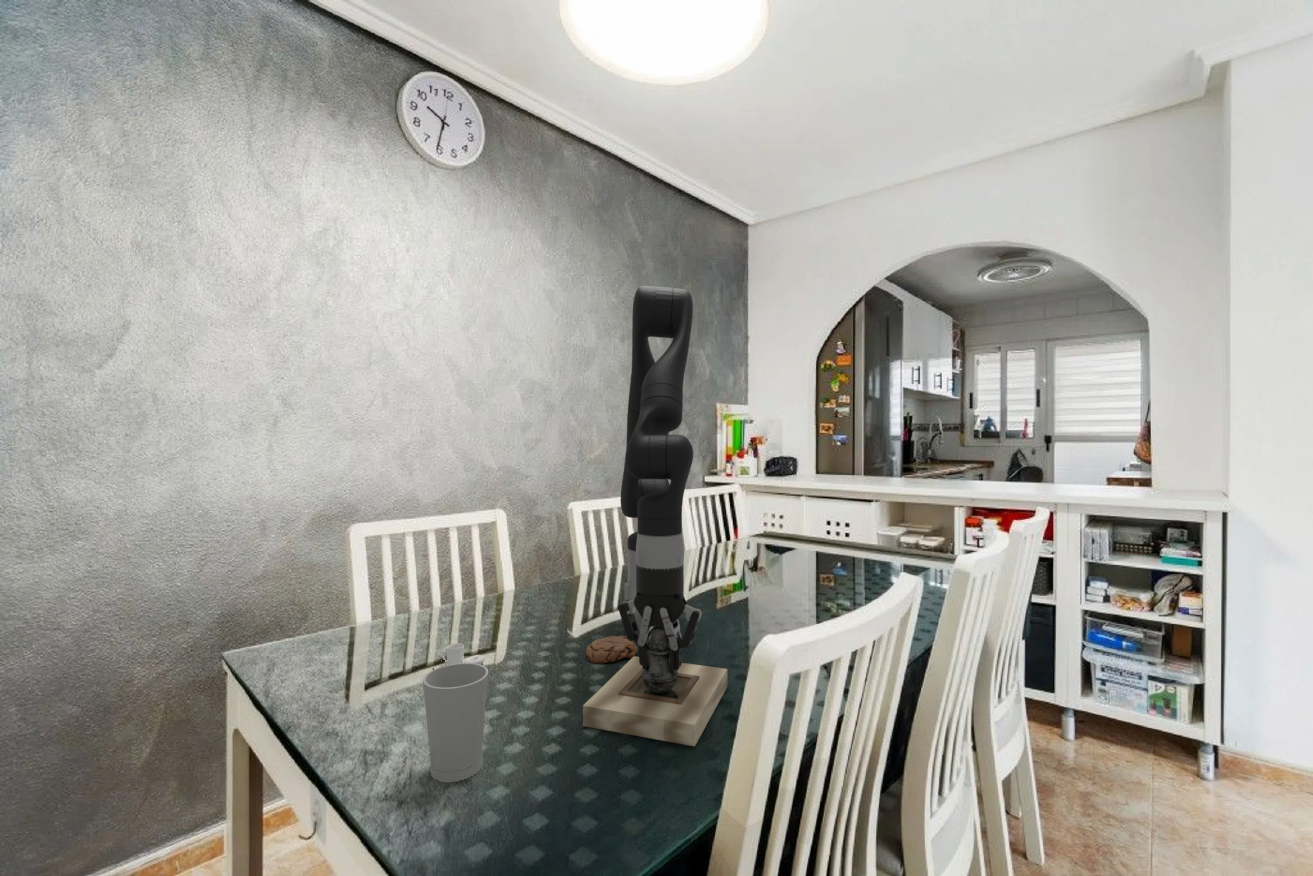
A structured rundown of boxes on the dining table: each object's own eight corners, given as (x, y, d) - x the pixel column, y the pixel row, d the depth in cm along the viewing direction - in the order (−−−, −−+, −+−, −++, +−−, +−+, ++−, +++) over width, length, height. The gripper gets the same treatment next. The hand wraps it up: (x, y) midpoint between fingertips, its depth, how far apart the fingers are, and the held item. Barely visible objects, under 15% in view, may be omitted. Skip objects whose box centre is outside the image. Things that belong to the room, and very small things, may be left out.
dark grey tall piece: (675, 706, 90) (674, 627, 89) (637, 702, 91) (637, 625, 91) (681, 689, 95) (681, 615, 95) (645, 686, 97) (645, 613, 96)
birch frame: (583, 726, 86) (583, 703, 86) (633, 673, 105) (633, 654, 105) (694, 746, 81) (694, 722, 81) (727, 686, 99) (727, 667, 99)
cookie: (574, 661, 112) (574, 645, 112) (603, 642, 121) (603, 628, 121) (620, 670, 107) (620, 653, 107) (646, 650, 117) (646, 635, 117)
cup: (434, 752, 79) (433, 663, 79) (494, 749, 80) (493, 661, 80) (414, 788, 71) (413, 689, 71) (481, 784, 72) (481, 687, 72)
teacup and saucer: (490, 664, 111) (490, 642, 110) (460, 680, 103) (459, 657, 103) (455, 656, 114) (455, 636, 114) (423, 672, 107) (422, 649, 107)
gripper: (709, 559, 94) (709, 666, 94) (627, 553, 99) (627, 655, 99) (696, 570, 87) (697, 686, 87) (608, 563, 92) (609, 673, 92)
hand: (660, 669), depth 93 cm, fingers closed on dark grey tall piece, 4 cm apart
